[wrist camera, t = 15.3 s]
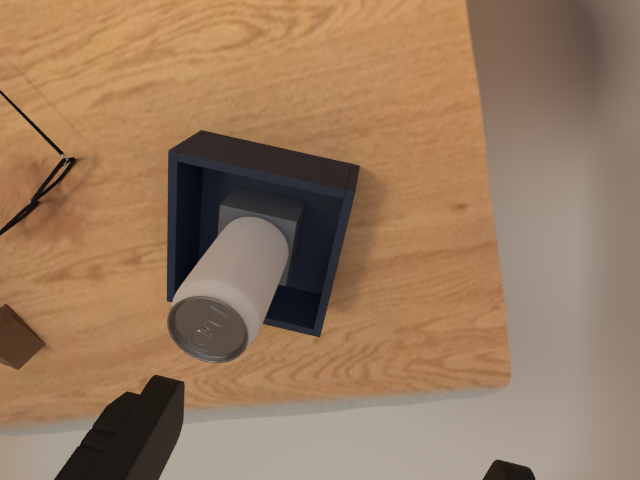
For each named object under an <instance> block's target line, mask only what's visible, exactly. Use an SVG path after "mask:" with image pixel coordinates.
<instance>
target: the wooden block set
mask: <svg viewBox="0 0 640 480" xmlns="http://www.w3.org/2000/svg"><path fill="white" fill-rule="evenodd" d="M44 345H45V343H44V342H43V341H42V340H41V339H40V338H39V337H38V336H37V335H36V334H35V333H34V332H33V331H32V330H31V329H30V328H29V327H28V326H27V325H26V324H25V323H24V322H23V321H22V320H21V319H20V318H19V317H18V316H17V315H16V313H15V312H14V311H13V310H12V309H11V308H10V307H9V306H8V305H7V304H5V305H4V306H3V307H1V308H0V363H2V364H4V365H7V366H10V367H13V368H15V369H18V370H19V369H20V368H21V367H22V366H23V365H24V364H25V363H26V362H27V361H28V360H29V359H30V358H31V357H33V356H34V355H35V354H36V353H37V352H38V351H39V350H40V349H41V348H42V347H43V346H44Z"/></svg>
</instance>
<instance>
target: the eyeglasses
mask: <svg viewBox="0 0 640 480" xmlns="http://www.w3.org/2000/svg"><path fill="white" fill-rule="evenodd" d="M0 94H1V95H2V96H3V97H4V98H5V99H6V100H7V101H8V102H9V103H10V104H11V105H12V106H13V107H14V108H15V109H16V110H17V111H18V112H19V113H20V114H21V115H22V116H23V117H24V118H25V119H26V120H27V121H28V122H29V123H30V124H31V125H32V126H33V127H34V128H35V129H36V130H37V131H38V132H39V133H40V134H41V135H42V136H43V137H44V139H45V140H46V141H47V142H48V143H49V144H50V145H51V146H52V147H53V148H54V149H55V150H56V151H57V152H58V153H59V154H60V156H63V157H64V158H63V159H62V160H61V161H60V162H59V164H58V165H57V166H56V167H55V169H54V170H53V171H52V173H51V174H50V175H49V177H48V178H47V179H46V180H45V182H44V183H43V184H42V186H41V187H40V188H39V190H38V191H37V192H36V194H35V195H34V197H33V198H31V199H29V200H30V204H29V205H27V206H26V207H25V208H23V209H22V210H21V211H20V212H19V213H18V214H17V215H16V216H15V217H14V218H13V219H12V220H11V221H10V222H9V223H8V224H6V225H5V226H4V227H3V228H2V229H1V230H0V235H2V234H3V233H4V232H6V231H7V230H9V229H10V228H11V227H13V226H14V225H15V224H17V223H18V222H19V221H20V220H22V219H23V218H24V217H25V216H26V215H28V214H29V213H30V212H31V211H32V210H33V209H34V208H35V207H36V206H37V205H38V204H39V203H40V202H39V201H37V200H38V199H40V198H41V197H42V196H43V195H45V194H46V193H47V192H48V191H49V190H51V189H52V188H53V187H54V186H55V185H56V184H58V182H59V181H60V180H61V179H62V178H63V177H64V176H65V175H66V174H67V172H68V171H69V170H70V168H71V167H72V166H73V164H74V163H75V161H76V159H75V158H74V157H71V158H67V157H66V155H65V154H64V153H63V152H62V151H61V150H60V149H59V148H58V147H57V146H56V145H55V144H54V143H53V142H52V141H51V140H50V139H49V138H48V137H47V136H46V135H45V134H44V133H43V132H42V131H41V130H40V129H39V128H38V127H37V126H36V125H35V124H34V123H33V122H32V121H31V120H30V119H29V118H28V117H27V116H26V115H25V114H24V113H23V112H22V111H21V110H20V109H19V108H18V107H17V106H16V105H15V104H14V103H13V102H12V101H11V100H10V99H9V98H8V97H7V96H6V95H5V94H4V93H3V92H2V91H1V90H0ZM69 162H71V163H70V164H69V165H68V167H67V168H66V169H65V171H64V172H63V173H62V174H61V176H60V177H59V178H58V179H57V180H56V181H55V182H54V183H53V184H52V185H50V186H49V187H48V188H47V189H45V190H44V188H45V187H46V186H47V184H48V183H49V182H50V181H51V179H52V178H53V177H54V176H55V174H56V173H57V172H58V170H59V169H60V168H61V167H62V166H64V165H65V164H67V163H69ZM25 211H26V212H25ZM24 212H25V213H24ZM23 213H24V214H23ZM22 214H23V215H22ZM21 215H22V216H21ZM20 216H21V217H20Z"/></svg>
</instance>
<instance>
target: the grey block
mask: <svg viewBox="0 0 640 480" xmlns="http://www.w3.org/2000/svg"><path fill="white" fill-rule="evenodd" d="M305 204H306V201H305V200H300V199H296V198H292V197H287V196H283V195H278V194H274V193H270V192H265V191H261V190H256V189H252V188H248V187H243V186H239V185H237V186H236V187H235V188H234V189H233V191H232V192H231V193H230V194H229V195H228V196H227V197H226V199H225V200H224V201H223V202H222V203H221V204H220V212H219V225H218V236H219V234H220V233H221V232H222V231H223V229H224V228H225V227H226V226H227V225H228V224H229V223H230V222H232V221H233V220H235V219H238V218H241V217H257V218H261V219H264V220H266V221H268V222H270V223H272V224H273V225H274V226H276V227H277V228H278V229H279V230H280V231H281V233H282V234H283V235H284V237H285V239H286V241H287V244H288V249H289V255H288V260H287V263H286V266H285V268H284V271H283V274H282V276H281V279H280V281H279V284H278V285H282V286H286V284H287V281H288V278H289V276H290V273H291V270H292V268H293V265H294V262H295V259H296V253H297V248H298V243H299V237H300V232H301V226H302V221H303V215H304V210H305Z"/></svg>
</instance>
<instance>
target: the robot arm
mask: <svg viewBox="0 0 640 480" xmlns="http://www.w3.org/2000/svg"><path fill="white" fill-rule="evenodd" d="M183 414H184V382H183V381H179V380H175V379H171V378H167V377H163V376H159V375H154V376H153V377H152V378H151V379H150V380H149V382H148V383H147V385H146V386H145V388H144V389H143V391H142V392H141V394H140V395H139V394H135V393H131V392H125V393H124V394H123V395H121V396H120V397H119V398H117V399H116V400H114V401H113V402H112V403H110V404H109V405H108V406H107V407H106V408H105V409H104V411H103V412H102V414H101V415H100V416H99V418H98V419H97V421H96V422H95V423H94V425H93V427H92V429H91V430H89V432H88V433H87V434H86V436H85V437H84V439H83V440H82V442H81V444H80V446H78V447H77V448H76V450H75V451H74V453H73V454H72V455H71V457H70V458H69V460H68V461H67V462H66V464H65V465H64V467H63V468H62V469H61V471H60V472H59V474H58V475H57V477H56V478H55V479H54V480H158V479H159V477H160V476H161V473H162V471H163V469H164V467H165V465H166V463H167V461H168V459H169V457H170V455H171V453H172V451H173V449H174V447H175V445H176V443H177V440H178V438H179V435H180V432H181V428H182V424H183ZM483 480H535V477H534V474H533V472H532V471H531V469H530V468H528V467H526V466H522V465H518V464H514V463H509V462H505V461H501V460H495V461H494V462H493V463H492V465H491V467H490V468H489V470H488V471H487V473H486V475H485V476H484V478H483Z"/></svg>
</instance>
